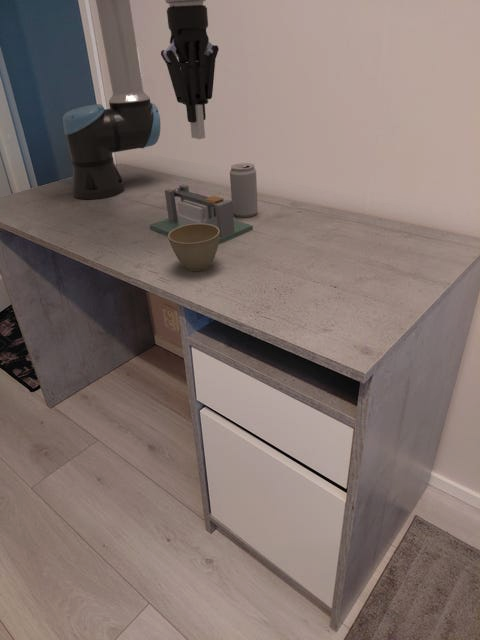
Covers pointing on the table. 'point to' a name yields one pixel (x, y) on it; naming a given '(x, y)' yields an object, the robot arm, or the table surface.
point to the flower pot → (195, 245)
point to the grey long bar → (197, 197)
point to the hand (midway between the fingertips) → (198, 137)
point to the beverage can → (243, 189)
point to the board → (201, 216)
